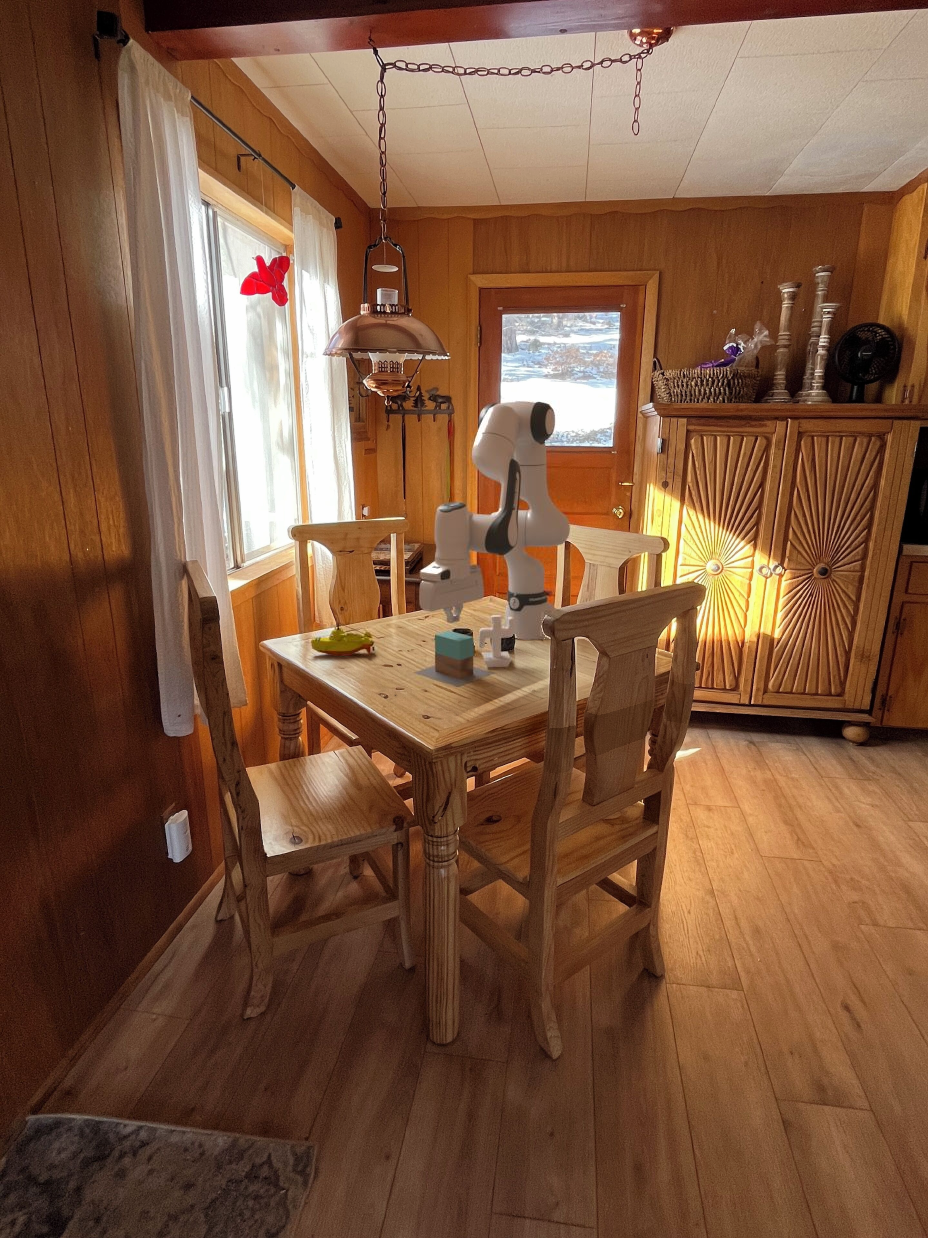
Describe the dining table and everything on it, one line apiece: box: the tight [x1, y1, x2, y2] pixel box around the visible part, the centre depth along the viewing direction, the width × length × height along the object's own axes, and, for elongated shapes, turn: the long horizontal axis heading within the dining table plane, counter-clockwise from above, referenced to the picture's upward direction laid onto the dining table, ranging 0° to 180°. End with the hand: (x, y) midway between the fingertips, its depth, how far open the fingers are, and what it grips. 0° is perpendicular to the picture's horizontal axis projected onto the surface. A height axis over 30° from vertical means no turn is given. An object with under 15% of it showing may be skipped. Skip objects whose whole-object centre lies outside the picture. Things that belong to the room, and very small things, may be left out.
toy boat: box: [310, 621, 376, 657], centre depth 202 cm, size 6×18×10 cm, turn 94°
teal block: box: [434, 630, 475, 660], centre depth 180 cm, size 5×9×5 cm, turn 47°
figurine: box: [478, 614, 514, 668], centre depth 188 cm, size 7×9×15 cm
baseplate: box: [413, 665, 495, 688], centre depth 183 cm, size 14×16×2 cm
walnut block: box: [434, 652, 474, 679], centre depth 182 cm, size 5×9×5 cm, turn 47°
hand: (453, 621), depth 179 cm, fingers closed
